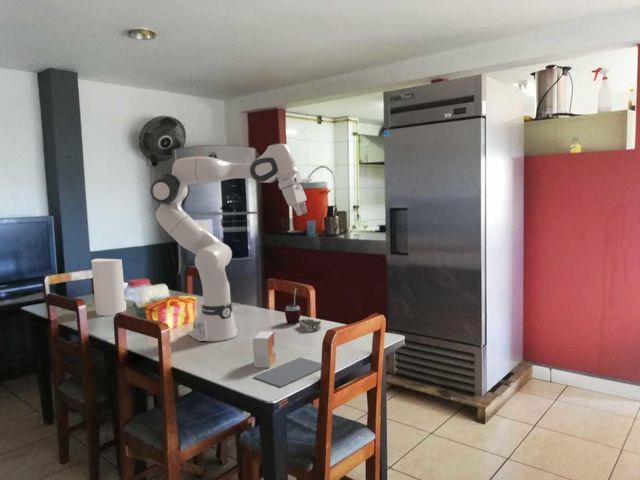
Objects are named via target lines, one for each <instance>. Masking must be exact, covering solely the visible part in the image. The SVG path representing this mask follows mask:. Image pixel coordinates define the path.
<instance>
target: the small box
mask: <svg viewBox="0 0 640 480" xmlns="http://www.w3.org/2000/svg"><path fill="white" fill-rule="evenodd" d="M275 338H276V337H275V332H274V331H259V332H258V333H257V334H256V335H255V336H254V337H253V338H252V348H253V349H252V351H253V366H254V367H253V368H265V369H266V368H267V369H268V368H271V366H272V365H273V364H274V362H276V359H277V358H276V346H275V345H276V342H275Z"/></svg>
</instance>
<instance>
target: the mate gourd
mask: <svg viewBox="0 0 640 480" xmlns="http://www.w3.org/2000/svg"><path fill="white" fill-rule="evenodd" d="M296 292H297V288H295V289H294V293H293V304H288V305H286V307H285V309H284V316H285V321H286V325H292V324H293V325H295V326H297V324H298V323H299V324H300V322H299V319H300V320H301V313H302V312H301V308H300V306H299V305H297V304H296Z"/></svg>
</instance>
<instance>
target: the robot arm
mask: <svg viewBox="0 0 640 480" xmlns="http://www.w3.org/2000/svg"><path fill="white" fill-rule="evenodd" d="M295 162H296V161H295V158H294V155H293V153H292V151H291V149H290V147H289V145H288V144H287V143H283V142H276V143H273V144H270V145H268V146H267V149H265V151H264V152H263V153H262V154H261V155H260V156H259V157H258V158H256V159H255V160H253V161H252V162H251V163H247V162H246V163H245V162H244V163H243V162H241V163H239V162H238V163H237V162H230V161H227V160H223V159H219V158H216V157H211V156H188V157H181V158H178V159H175V161H174V163H173V164H172V168H171V171H172V172H171V173H165V174H164V175H162V176H161V177H158V178H157V179H155V180H154V181H153V182H152V183H151V186H150V191H149V192H150V195H151V198H152V199H153V200H154V201H156V203H159V204H160V206H159V207H158V209H157V210H156V212H155V218H156V220H157V221H158V223H159V225H160V226H161V227H162V228H163V229H164V230H165V231H166V232H167V234H168V235H169V236H171V237H172V238H173V240H175V241H176V242H177V243H178V244H179V245H180V246H181V247H182V248H183V249H186V251H187V250H188V251H190V252H191V253H192V254H195V255H196V256H195V257H194V265H195V268H196V269H197V271H198V274H199V278H200V282H201V287H202V288H201V289H202V298H203V304H201V305H199V306H200V308H201V313H200V314H199V315H198V316H197V317H195V319H194V320H193V322H192V329H191V330H189V331H188V332H187V335H188V336H189V335H190V336H189V337H191V336H192V337H191V338H193V339H194V338H195V340H196V339H197V340H196V341H198V340H199V341H198V342H200V341H207V342H220V341H222V342H223V341H228V340H231V339H233V338H235V337H236V336H237V335H238V331H239V329H238V328H237V327H236V319H235V315H234V312H233V303H232V300H231V287H230V286H231V285H230V282H229V280H228V277H227V273H226V266H228V265H229V264H230V262H231V259H232V258H233V257H232V256H233V251H232V249H231V247H230V246H229V245H228V244H225V242H224V243H223V242H222V241H221V240H220V239H218V238H217V237H216V236H215V235H213V234H211V233H210V232H208V231H207V230H205V229H204V228H203V227H202V226H201V225H200V224H199V223H197V222H196V220H194V219H193V218H192V217H191V216H190V214H188V213H187V212H186V211H185V210H184V209H183V208H182V207H183V206H184V205H185V204H186V201H187V199H188V197H189V195H190V191H191V190H190V186H189V185H207V184H214V183H219V182H223V181H227V180H231V179H232V180H233V179H253V180H255V181H256V182H259V183H267V184H271V183H272V184H273V183H274V182H276V181H278V188H279V190H281V192H282V195H283V197H284V199H285V201H286V204H287V205H288V206H289V207H292V208H293V210H294V211H295V212H296V215H297V217H299V216H302V215H303V214H307V212H308V211H307V206H306V201H307V195H306V193H305V191H304V189H303V186H302V184H301V183H303V180H302V177H301V174H300V172H299V170H298V168H297V166H296V163H295Z"/></svg>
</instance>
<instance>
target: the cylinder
mask: <svg viewBox="0 0 640 480" xmlns="http://www.w3.org/2000/svg"><path fill="white" fill-rule="evenodd" d="M90 261H91V272H92V281H93V293H94V301H95V313H99V314H114V313H115V314H116V313H118V312H123V311H125V310H126V301H125V300H124V289H125V288H126V287H127V285H128V283H129V282H125V281H124V271H123V270H124V268H123V261H122V259H121V258H120V259H117V258H94V259H91V260H90Z"/></svg>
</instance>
